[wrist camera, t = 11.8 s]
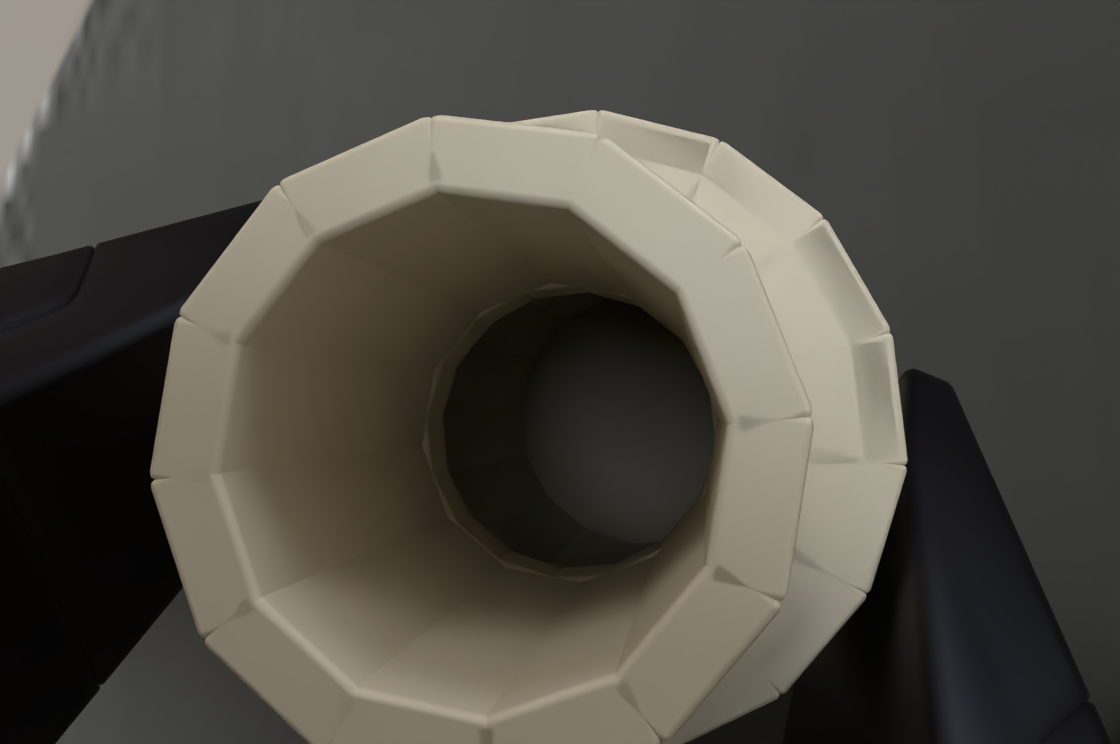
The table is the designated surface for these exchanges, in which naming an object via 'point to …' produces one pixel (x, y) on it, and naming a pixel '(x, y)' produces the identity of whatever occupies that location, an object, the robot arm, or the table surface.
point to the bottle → (528, 437)
